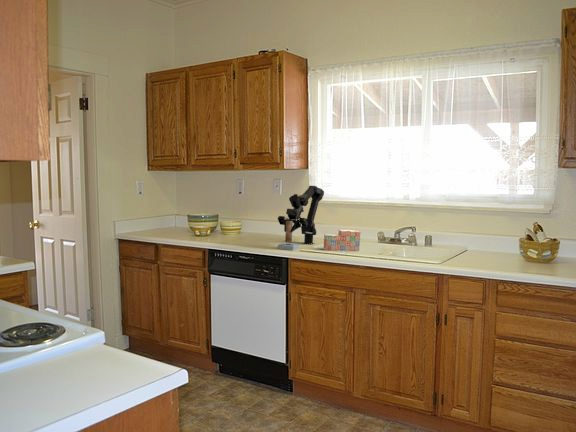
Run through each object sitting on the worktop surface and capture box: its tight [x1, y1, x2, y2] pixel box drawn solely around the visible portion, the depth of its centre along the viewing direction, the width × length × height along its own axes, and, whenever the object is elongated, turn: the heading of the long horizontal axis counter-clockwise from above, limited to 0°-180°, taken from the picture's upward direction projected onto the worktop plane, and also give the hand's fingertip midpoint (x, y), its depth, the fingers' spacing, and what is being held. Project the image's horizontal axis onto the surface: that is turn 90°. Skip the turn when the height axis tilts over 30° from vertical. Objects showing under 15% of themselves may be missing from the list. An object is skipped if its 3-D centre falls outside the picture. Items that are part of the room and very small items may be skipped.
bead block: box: [277, 242, 300, 251], centre depth 317 cm, size 10×10×2 cm
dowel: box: [284, 221, 294, 244], centre depth 316 cm, size 4×4×13 cm
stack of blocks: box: [323, 229, 361, 252], centre depth 321 cm, size 21×6×12 cm, turn 98°
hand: (287, 231), depth 315 cm, fingers closed on dowel, 4 cm apart
